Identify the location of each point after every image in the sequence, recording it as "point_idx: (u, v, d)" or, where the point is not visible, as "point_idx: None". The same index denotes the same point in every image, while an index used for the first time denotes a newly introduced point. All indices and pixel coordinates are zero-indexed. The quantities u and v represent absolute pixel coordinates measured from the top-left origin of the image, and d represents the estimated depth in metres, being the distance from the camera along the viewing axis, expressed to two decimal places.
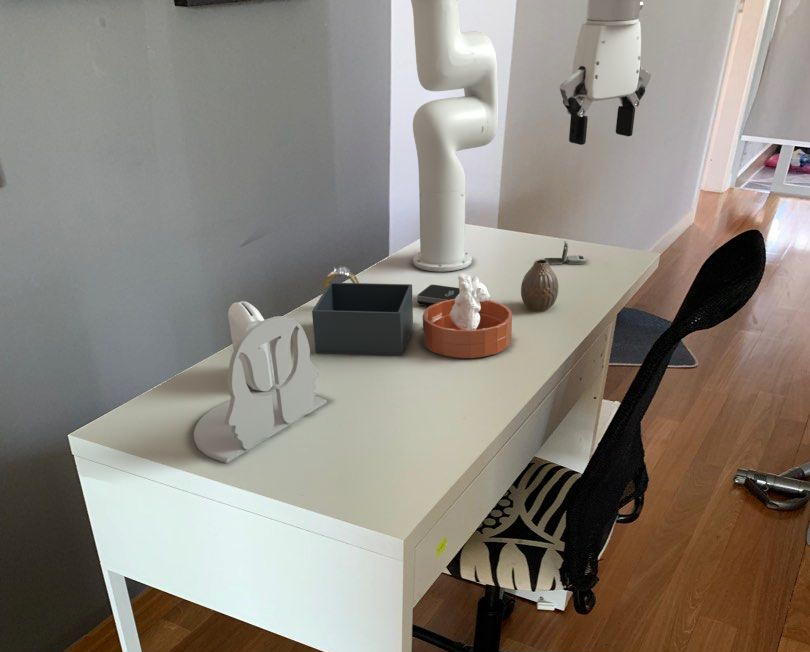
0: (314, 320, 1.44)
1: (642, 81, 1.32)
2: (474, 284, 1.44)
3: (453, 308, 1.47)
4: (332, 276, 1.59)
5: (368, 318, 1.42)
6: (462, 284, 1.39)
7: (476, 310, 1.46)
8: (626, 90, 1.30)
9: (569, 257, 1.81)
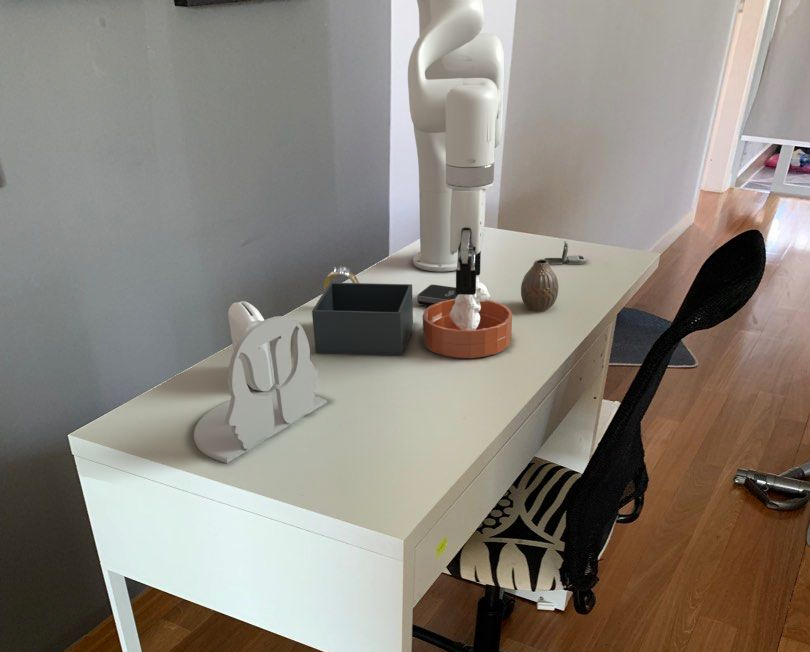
0: (314, 320, 1.44)
1: None
2: None
3: (453, 308, 1.47)
4: (332, 276, 1.59)
5: (368, 318, 1.42)
6: None
7: (476, 310, 1.46)
8: None
9: (569, 257, 1.81)
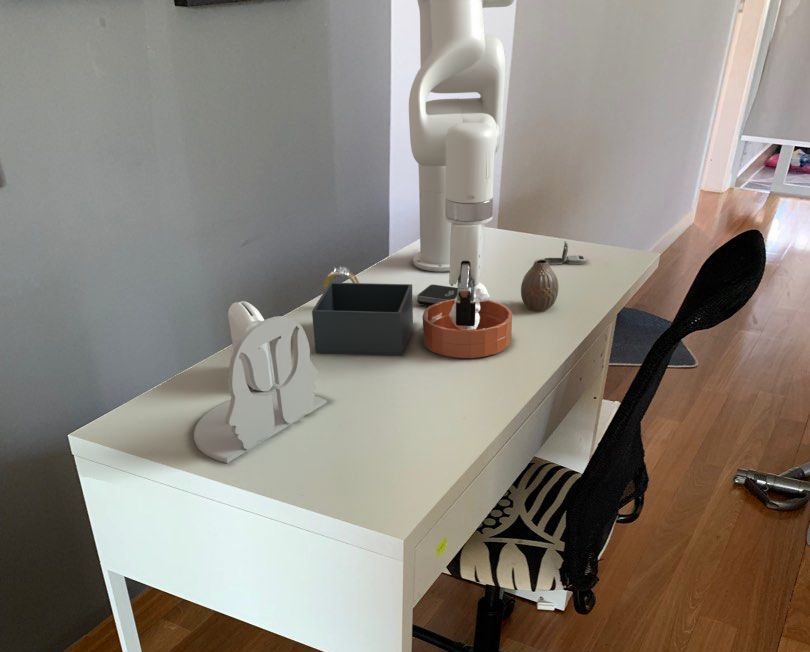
0: (314, 320, 1.44)
1: None
2: None
3: (453, 308, 1.46)
4: (332, 276, 1.59)
5: (368, 318, 1.42)
6: None
7: (476, 310, 1.45)
8: None
9: (569, 257, 1.81)
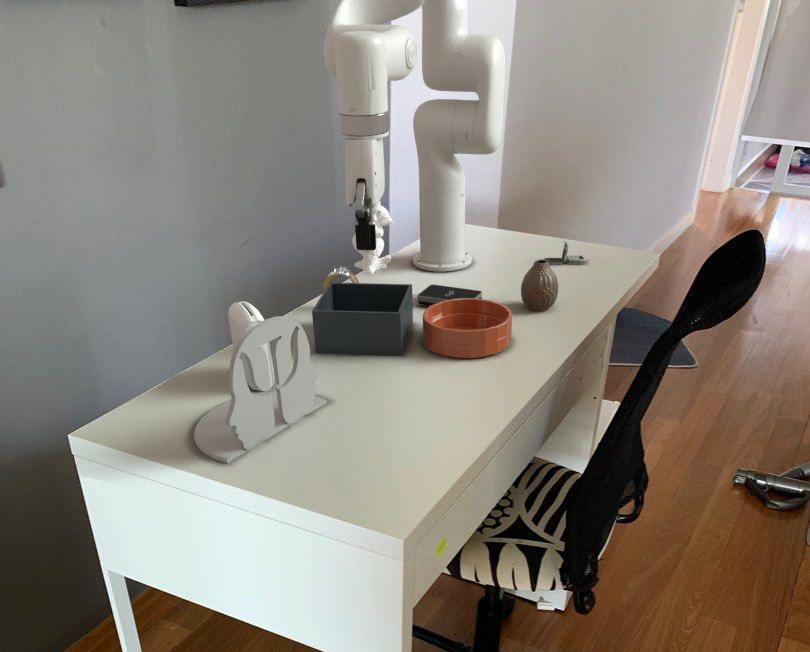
0: (314, 320, 1.44)
1: None
2: (374, 207, 1.38)
3: (355, 234, 1.41)
4: (332, 276, 1.59)
5: (368, 318, 1.42)
6: None
7: (378, 235, 1.40)
8: (383, 191, 1.39)
9: (569, 257, 1.81)
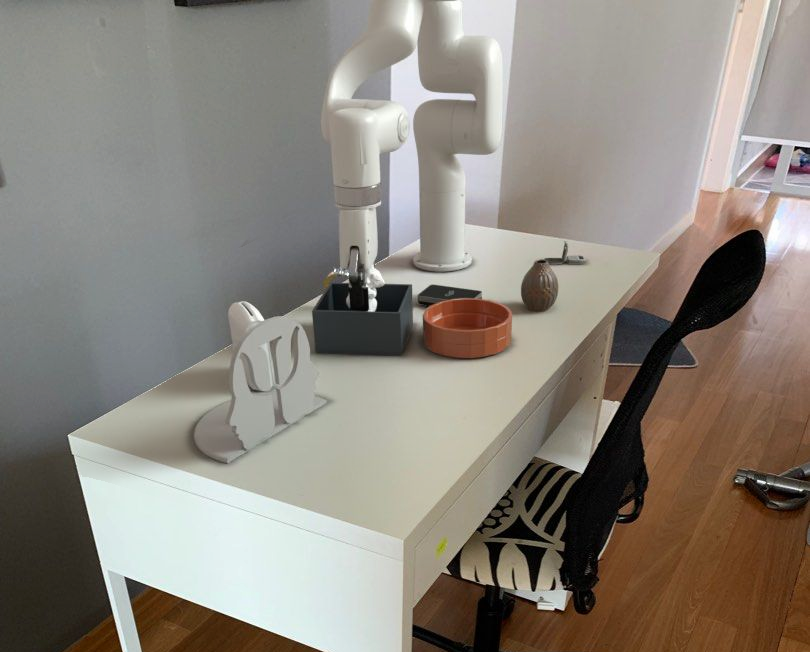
0: (314, 320, 1.44)
1: None
2: None
3: None
4: (332, 276, 1.59)
5: (368, 318, 1.42)
6: None
7: (371, 296, 1.46)
8: (376, 254, 1.45)
9: (569, 257, 1.81)
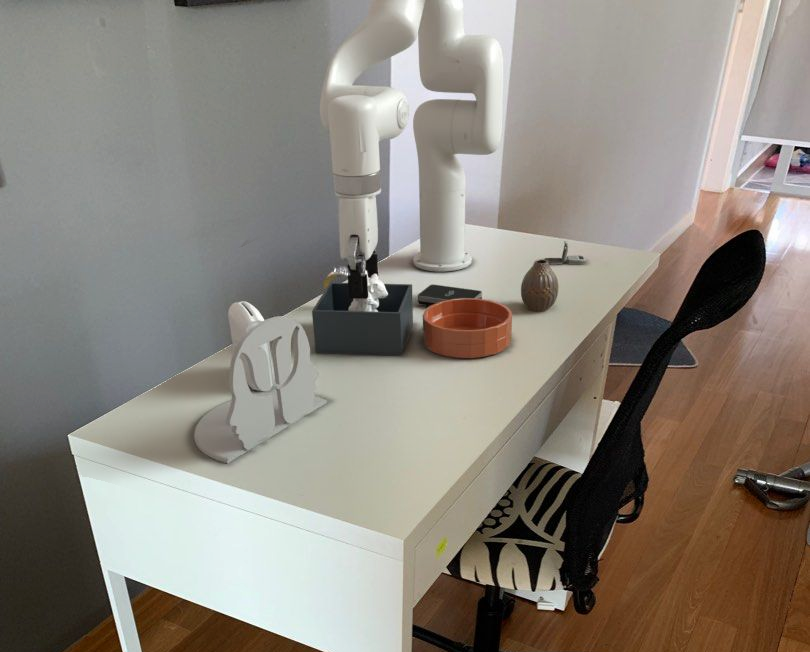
0: (314, 320, 1.44)
1: None
2: (372, 280, 1.46)
3: (352, 304, 1.49)
4: (332, 276, 1.59)
5: (368, 318, 1.42)
6: None
7: (374, 306, 1.48)
8: (376, 242, 1.44)
9: (569, 257, 1.81)
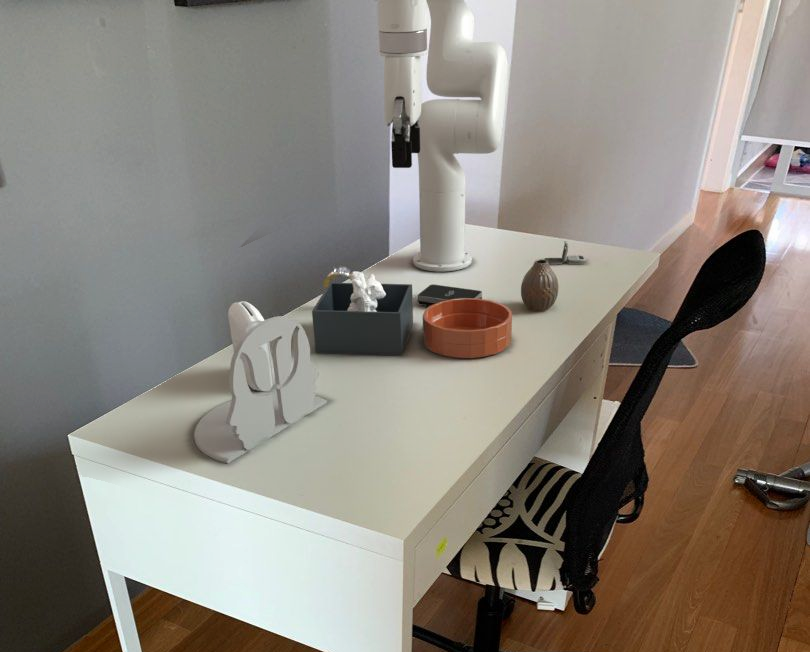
0: (314, 320, 1.44)
1: None
2: (369, 281, 1.46)
3: (350, 305, 1.49)
4: (332, 276, 1.59)
5: (368, 318, 1.42)
6: (353, 281, 1.41)
7: (372, 307, 1.48)
8: (419, 112, 1.41)
9: (569, 257, 1.81)
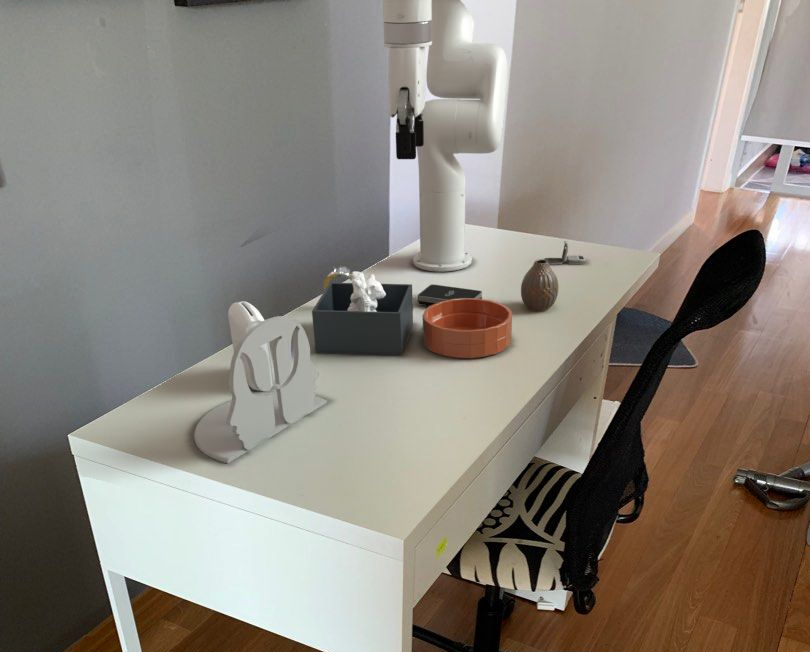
0: (314, 320, 1.44)
1: None
2: (369, 281, 1.46)
3: (350, 305, 1.49)
4: (332, 276, 1.59)
5: (368, 318, 1.42)
6: (353, 281, 1.41)
7: (372, 307, 1.48)
8: (423, 104, 1.41)
9: (569, 257, 1.81)
